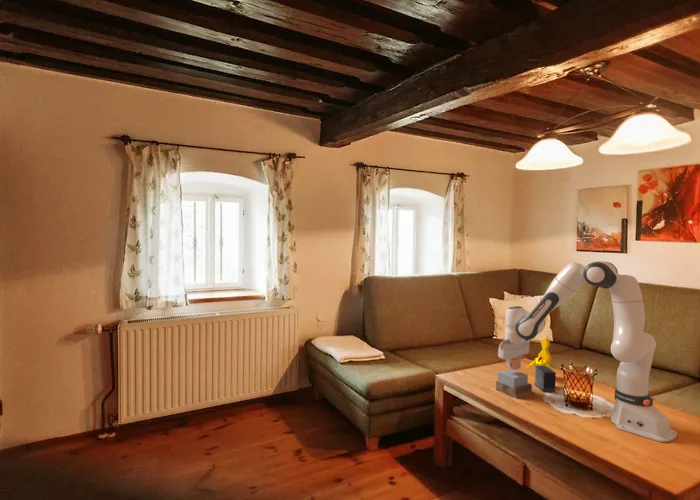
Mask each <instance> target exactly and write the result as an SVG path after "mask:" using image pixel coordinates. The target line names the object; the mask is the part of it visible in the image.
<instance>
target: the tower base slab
mask: <svg viewBox="0 0 700 500" xmlns="http://www.w3.org/2000/svg"><path fill="white" fill-rule="evenodd" d="M495 386H496V387H495V390H496V391H497V392H501V393H503V394H505V395H507V396H509V397H512V398H514V399H519V398H521V397H524V396H527V395H532V393H533V391H532V390H533V389H532V388H533V385H532V383H529V382H528V384H527V385H524V386H520V387H517V388H512V387H510V386H507V385H505V384H503V383H500V382H498V380H497V381H496V383H495Z"/></svg>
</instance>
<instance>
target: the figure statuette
mask: <svg viewBox="0 0 700 500" xmlns="http://www.w3.org/2000/svg"><path fill="white" fill-rule="evenodd" d="M541 339H542V340H541V342H540V344H541V351H539V352H538V355H537V357H535V358H534V360H533V361H531V363H530V364H528V365H527V366H526V369H527V370H529V369H531V368H532V367H535V366H547V367H549V368H550V369H551V370H553V369H552V367H551V362H552V355H551V353H550V351H549V348H550V345H551V342H550V339H549V338H548V337H543V338H541Z"/></svg>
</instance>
